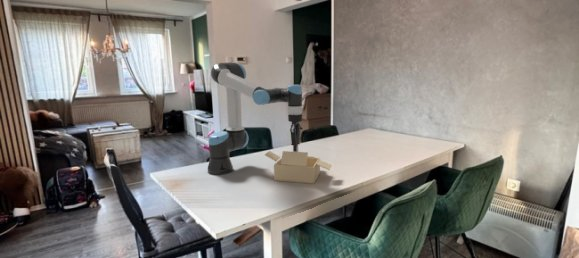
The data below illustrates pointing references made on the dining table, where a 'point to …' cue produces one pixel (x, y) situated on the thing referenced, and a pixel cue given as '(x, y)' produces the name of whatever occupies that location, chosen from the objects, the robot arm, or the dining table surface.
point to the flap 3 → (324, 164)
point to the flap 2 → (294, 158)
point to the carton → (297, 172)
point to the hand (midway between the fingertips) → (295, 156)
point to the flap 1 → (272, 156)
